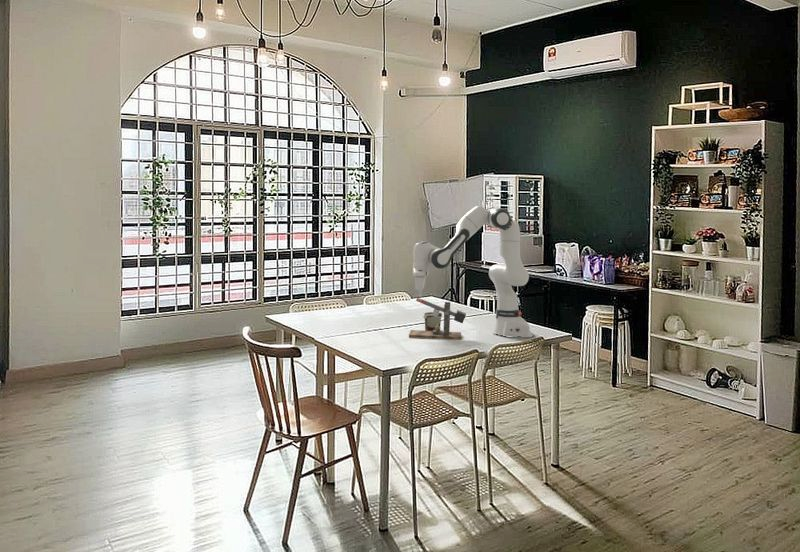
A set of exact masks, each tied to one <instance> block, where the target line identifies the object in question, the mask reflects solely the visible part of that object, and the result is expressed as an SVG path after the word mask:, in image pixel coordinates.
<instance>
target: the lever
mask: <svg viewBox="0 0 800 552" xmlns="http://www.w3.org/2000/svg"><path fill="white" fill-rule="evenodd" d="M415 302H418V303H420V304H422V305H425V306H427V307H430V308H433V311H432V312H433V313H432V316H434V317H437V316H438V314H439V313H440V312H441V313H444V307H442V306H439V305H437V304H435V303H432V302H429V301H427V300H425V299H422V298H421V297H416V300H415ZM450 316H451V317H453V321H455V322H458V323H460V324H464V320H465V319H466V316H467V314H466V312H464V311H462V310H459V309H457V310H456V312H455V311H452V310H450Z"/></svg>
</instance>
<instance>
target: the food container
mask: <svg viewBox="0 0 800 552" xmlns="http://www.w3.org/2000/svg"><path fill="white" fill-rule="evenodd" d="M432 313H433V311H429V312H424V314H423V319H424V331H433V330H435V327H436V326H437V325H438V326H440V327H441V322H442V317H443V312H439V314H438V316H437V317H434V316H432Z"/></svg>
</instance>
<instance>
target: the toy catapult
mask: <svg viewBox="0 0 800 552" xmlns="http://www.w3.org/2000/svg"><path fill="white" fill-rule="evenodd" d="M443 308H444V312H443V330H442V329H441V325H440V326H438V325H437V326H436V327H435V330H433V331H425V330H420V329H411V330H410V332H409V334H408V338H410V339H411V338H415V339H417V338H418V339H436V340H457V341H459V340H460V341H461V340H462V332H461V331H450V323H451V321H450V320H451V315H450V311H451V301H450V302H449V301H444V305H443Z"/></svg>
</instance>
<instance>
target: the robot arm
mask: <svg viewBox="0 0 800 552" xmlns="http://www.w3.org/2000/svg"><path fill="white" fill-rule="evenodd" d="M484 225H486V226H488V227H490V228H494V229H498V230H499V234H500V235H499V255H500V256H501V258H502V259H503V261H504V263H505V264H504V263H496V264H493V265H491V266H490V267H489V270H488V277H489V279H490V281H492V283H493V284H494V288H495V291H496V309H495V324H494V329H493V332H492V334H494V335H496V334H498V335H497V336H500V335H503V336H521V337H520V338H533V337H534V336H533V335H534V332H533V331H531V330H530V324H529V323H528V322H527V321H526V320H525V319H524V318H522V316H521V315H522V312H521V310H519V309H518V294H517V293H516V292H515V290H514V289H513V287H523V286H525V285H527V283H528V282H529V279H530V274H529V271H528V269H526V268H525V266H524V264H523V261H522V258H521V227H520V223H518V221H516V220H513V219H512V217H511V214H510V213H509V211H508V210H506V209H504V208H501V207H489V208H486V207H484V206H482V205H476V206H474V207H473V208H471V209H470V210H469V211H467V212H466V213H465V214H464V215H463V216H462V217H461V218H460V219H459V221H457V223H456V225H455V234H454V236H453V237H452V238H451V239H450V241H449V242H448V243H446V245H445V246H444V247H443V248H440V247H438V246H435V245H433V244H432V243H430V242H429V241H427V240H426V241H418V242H416V243H415V244H414V246H413V253H412V260H413V263H412V275H413V277H414V285H415V287H414V288H415V291H417V296H418V297H417V298H421V297H423V296H422V295H423V290H424V288H425V286H426V285H425V284H426V281H425V280H426V279H427V277H428V276H429V275H430V265H433V266H434V267H435V268H437V269H441V270H442V269H445V268H447V267H448V266H449V265H450V263H451V262H452V259H453V257H454V255H455V254H456V253H457V252H458V251H459V250H460V248H461V247H462V246H463V245H464V244H465V243H466V242H467V241H468V240H469V239H470V238H471V237H472V236H473V235H475V234H476V233H477V232H478V231H479V230H480V229H481V228H482V227H483V226H484ZM503 336H502V337H503ZM532 336H533V337H532Z"/></svg>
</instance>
